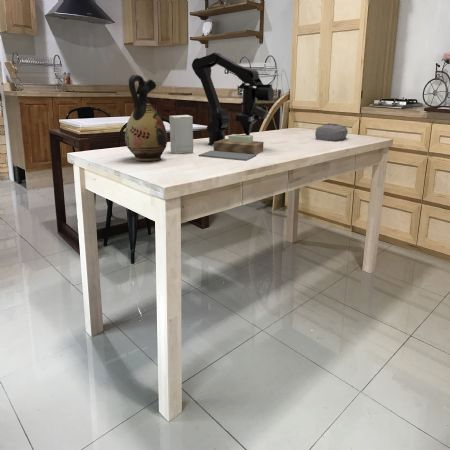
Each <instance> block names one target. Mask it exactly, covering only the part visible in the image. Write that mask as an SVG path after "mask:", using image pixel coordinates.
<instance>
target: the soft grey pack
mask: <svg viewBox="0 0 450 450" xmlns="http://www.w3.org/2000/svg"><path fill="white" fill-rule="evenodd" d="M314 135H315V138H316V140H319V141H326V142H338V141H339V142H340V141H342V140H345V139H346V138H347V135H348V129H347V127H346V126H344V125H342V124H338V123H331V122H330V123H326V124H323V125H321V126H318V127H317V128H316V130H315V134H314Z"/></svg>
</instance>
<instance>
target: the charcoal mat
mask: <svg viewBox="0 0 450 450" xmlns="http://www.w3.org/2000/svg"><path fill="white" fill-rule="evenodd" d="M198 157H205V158H213V159H214V158H215V159H226V160H237V161H246V162H247V161H249V160H250V159H253V158H254V157H255V158H256V157H257V154H256V155H255V154H244V153H233V152H223V151H214V150H207V151H206V152H203V153H200V154H198Z"/></svg>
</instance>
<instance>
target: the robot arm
mask: <svg viewBox="0 0 450 450" xmlns="http://www.w3.org/2000/svg"><path fill="white" fill-rule="evenodd" d="M216 65H219V66H220V67H221V68H224V69H225V70H227V71H229V72H231V73H233V74H235V76H237V78H238V79H239V80H240V81H241V82H242V83H241V84H240V85H239V86H238V89H241V90H242V101H241V102H240V105H241V106H242V107H241V112H240V113H237V114H235V116H234V122H239V123H240V125H241V127H242V130H243V132H244V135H251V130H252V128H253V126H254V124H255V123H256V122H257V121H258V120H261V119H263V120H264V119H267V117H268V115H269V110H268V109H269V108H268V107H267V106H265V105H264V106H262V107H260V106H258V102H257V101H261V102H262V101H263V102H272V101H273V99H274V97H275V96H274V95H275V94H274V93H275V92H274V89H273V84H272V83H267V84H264V83H263V82H262V80H261V78H260V75H259V72H258V71H257V70H256V69H253V68H250V67H246V66H243V65H240V64H238V63H237V62H235V61H233V60H231V59H230V58H228V57H226V56H224V55H222V54H221V53H219V52H212V53H210V54H208V55H205V56H203V57H196V58H194V59H193V60H192V63H191V68H192V70H193V72H194V74H195V75H196V76H197V78H198V79H199V81H200V82H201V86H202V88H203V91H204V94H205V97H206V100H207V102H208V106H209V108H210V121H211V122H210V123H209V124H208V125H207V126H206V130H207V132H209V133H208V134H209V136H208V143H207V145H210V146H214V142H216V141H219V140H223V139H226V134H225V131H226V130H227V127H228V126H229V124H230V119H231V118H230V116H229V115H230V114H229V113H228V110H227V109H224V108H223V107H222V106H221V103H220V100H219V96H218V94H217V91H216V88H215V85H214V82H213V79H212V68H213V67H215V66H216ZM256 100H257V101H256ZM256 119H258V120H256Z"/></svg>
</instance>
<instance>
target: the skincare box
mask: <svg viewBox="0 0 450 450" xmlns="http://www.w3.org/2000/svg"><path fill="white" fill-rule="evenodd" d="M193 118H194V116H192V115H189V114H181V115H180V114H179V115H169V137H170V139H169V141H170V152H171V153H173V154H187V153H188V154H189V153H194V128H193Z"/></svg>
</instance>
